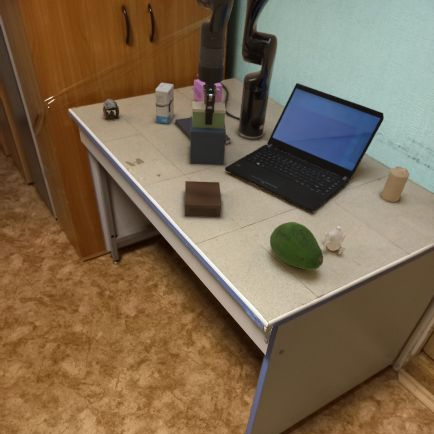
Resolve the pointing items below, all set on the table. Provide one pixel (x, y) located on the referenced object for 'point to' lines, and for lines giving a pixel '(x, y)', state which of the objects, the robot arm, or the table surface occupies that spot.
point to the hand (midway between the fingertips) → (208, 119)
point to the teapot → (200, 95)
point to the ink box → (164, 102)
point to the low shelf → (202, 199)
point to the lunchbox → (199, 113)
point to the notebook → (186, 126)
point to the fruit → (296, 246)
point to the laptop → (311, 148)
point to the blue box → (207, 145)
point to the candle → (395, 184)
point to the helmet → (110, 108)
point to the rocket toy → (334, 239)
